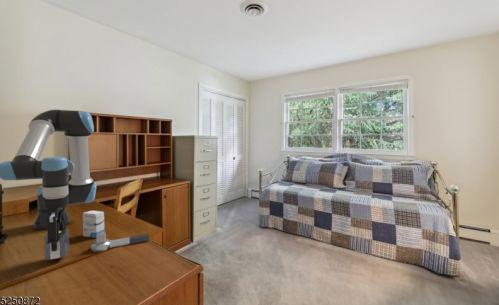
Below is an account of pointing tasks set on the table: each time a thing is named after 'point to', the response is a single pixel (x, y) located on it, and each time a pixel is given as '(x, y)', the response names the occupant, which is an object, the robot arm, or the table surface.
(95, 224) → the ink box
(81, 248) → the table surface
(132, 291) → the table surface
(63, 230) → the cube with brass button
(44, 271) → the table surface
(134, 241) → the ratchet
